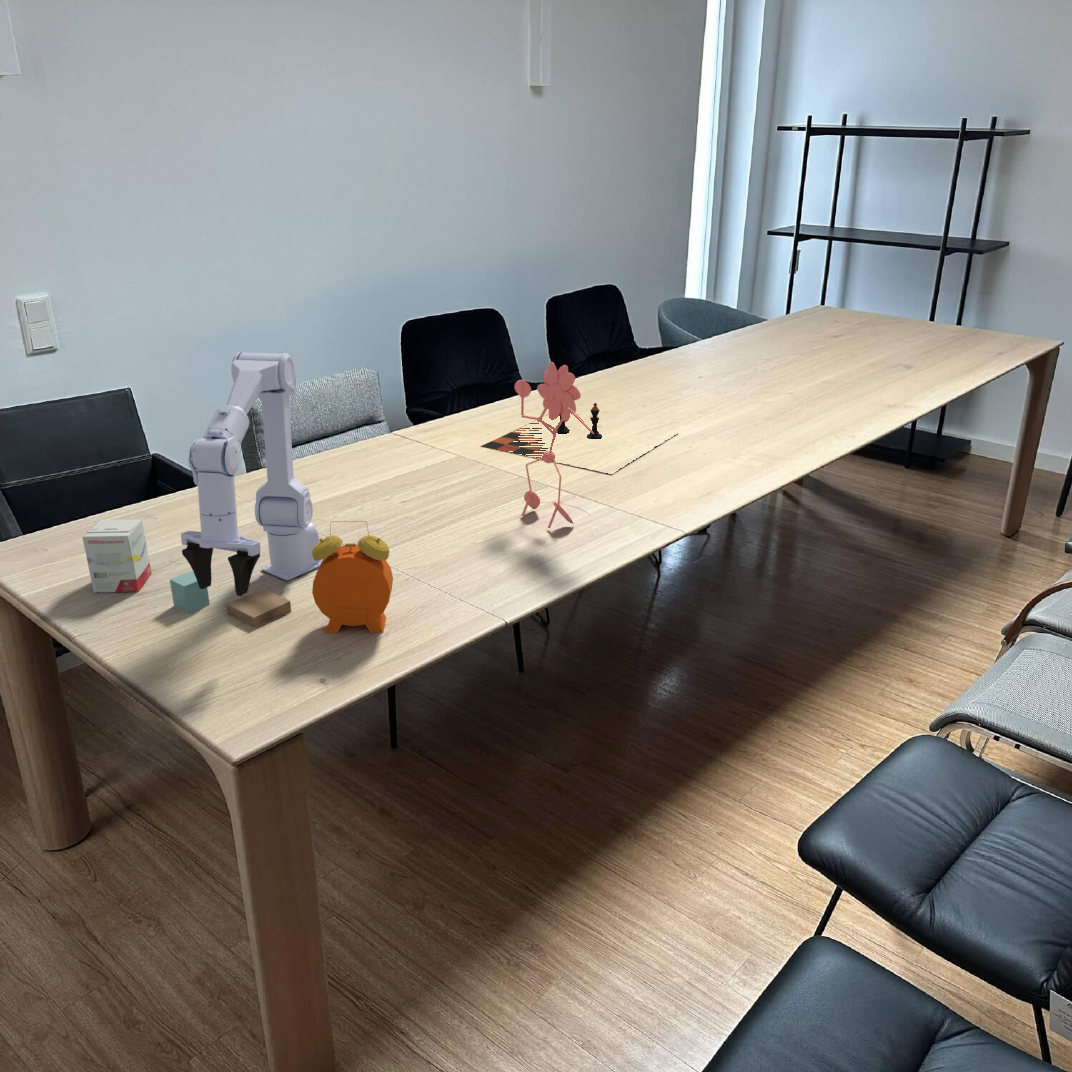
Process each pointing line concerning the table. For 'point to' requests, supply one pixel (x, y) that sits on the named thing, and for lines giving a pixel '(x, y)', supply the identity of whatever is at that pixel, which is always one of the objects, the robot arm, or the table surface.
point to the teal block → (188, 593)
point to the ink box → (117, 555)
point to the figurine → (558, 401)
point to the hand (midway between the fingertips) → (223, 590)
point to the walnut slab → (258, 607)
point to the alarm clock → (352, 581)
